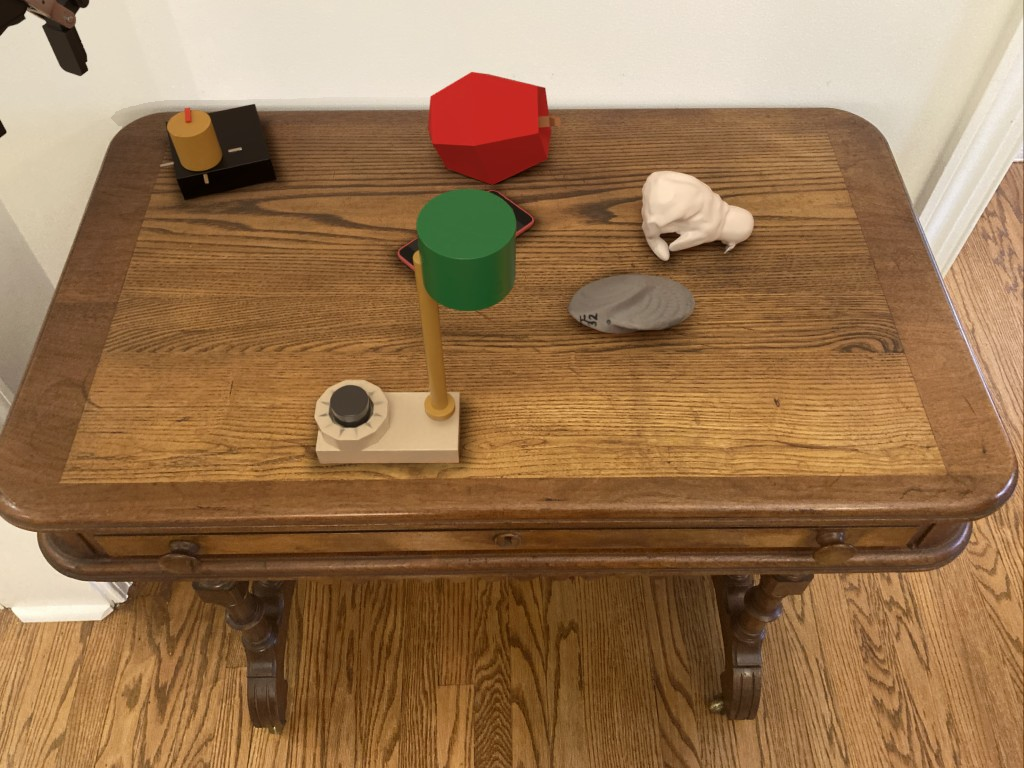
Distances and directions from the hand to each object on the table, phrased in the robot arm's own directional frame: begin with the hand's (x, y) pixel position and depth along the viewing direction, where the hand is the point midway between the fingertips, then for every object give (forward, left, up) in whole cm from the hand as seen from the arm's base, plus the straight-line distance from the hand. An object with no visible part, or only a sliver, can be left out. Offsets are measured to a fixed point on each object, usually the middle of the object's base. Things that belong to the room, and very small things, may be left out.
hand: (36, 101), depth 64 cm
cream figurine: (+55, -10, -24) cm, 60 cm away
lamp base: (+19, -22, -24) cm, 38 cm away
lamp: (+26, -24, -20) cm, 41 cm away
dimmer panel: (+10, +18, -24) cm, 32 cm away
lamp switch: (+16, -21, -20) cm, 33 cm away
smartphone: (+33, -2, -24) cm, 40 cm away
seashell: (+45, -17, -24) cm, 53 cm away
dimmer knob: (+9, +17, -21) cm, 28 cm away
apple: (+39, +9, -24) cm, 46 cm away
